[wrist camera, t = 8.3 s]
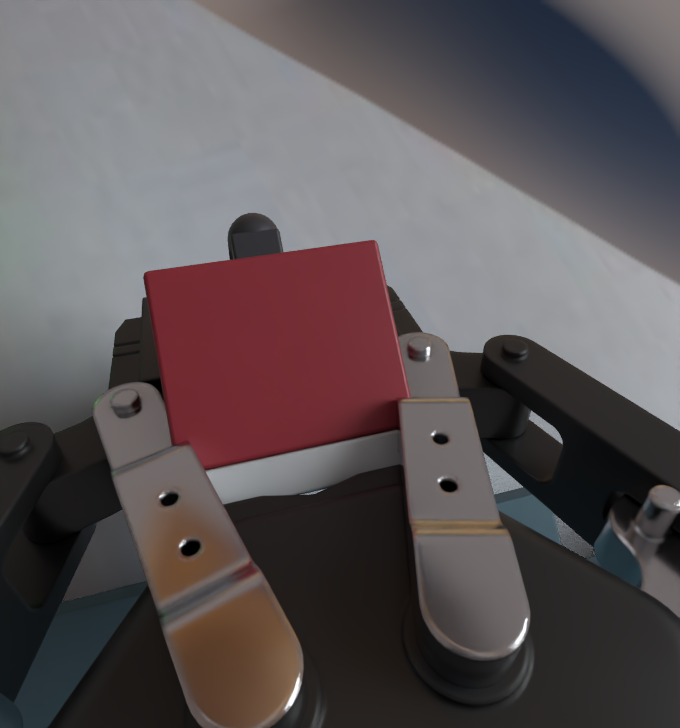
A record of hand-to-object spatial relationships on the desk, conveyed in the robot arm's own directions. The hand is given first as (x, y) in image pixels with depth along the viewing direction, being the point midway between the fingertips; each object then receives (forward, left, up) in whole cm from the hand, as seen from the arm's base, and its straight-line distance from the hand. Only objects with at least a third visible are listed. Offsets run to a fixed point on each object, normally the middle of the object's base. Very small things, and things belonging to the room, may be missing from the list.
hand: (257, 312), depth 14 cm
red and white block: (0, -2, -4) cm, 5 cm away
